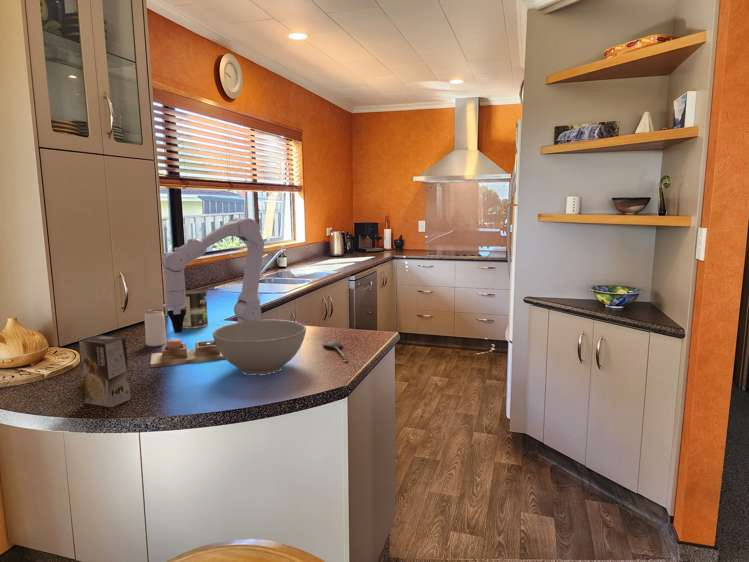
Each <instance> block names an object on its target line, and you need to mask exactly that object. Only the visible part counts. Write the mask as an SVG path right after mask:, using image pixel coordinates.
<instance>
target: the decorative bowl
mask: <svg viewBox="0 0 749 562" xmlns="http://www.w3.org/2000/svg"><path fill="white" fill-rule="evenodd" d="M306 332H307V327H306V325H305V324H303V323H301V322H298V321H292V320H284V319H259V320H254V321H245V322H239V323H237V322H235V323H230V324H226V325H223V326H221V327H218V328H216V329H214V331H213V332H212V338H213V340H214V341H215V343H216V346H217V348H218V349H219V351H220V352H221V354H222V355H223V356H224V358H225V359H224V360H226V361H227V362H228V363H230V365H233V366H234V367H236V368H237V369H239V370H240V372H241V373H242V372H243V373H242V374H244V373H246V374H256V375H260V374H268V373H273V372H276V371H279V370H280V369H282V368H284V366H285V365H286V364H287V363H289V362H290V361H291V360H292V359H293V358H294V357H295V356H296V355H297V353H298V352H299V350H300V348H301V347H302V345H303V342H304V339H305V336H306ZM282 370H283V369H282ZM280 371H281V370H280ZM280 371H279V372H280ZM276 373H277V372H276ZM246 374H245V375H246ZM273 374H274V373H273ZM260 376H261V375H260Z"/></svg>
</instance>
